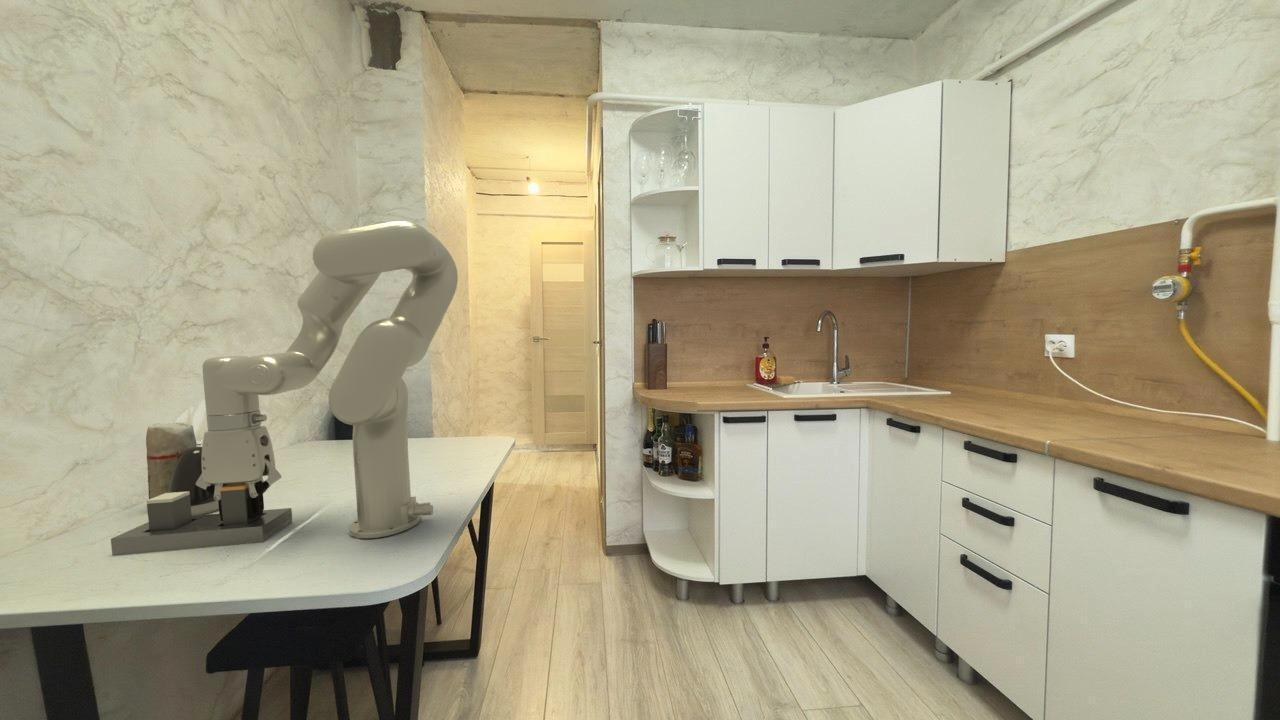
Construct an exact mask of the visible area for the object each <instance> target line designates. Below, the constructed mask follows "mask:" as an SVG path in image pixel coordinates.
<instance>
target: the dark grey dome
mask: <svg viewBox="0 0 1280 720" xmlns="http://www.w3.org/2000/svg"><path fill="white" fill-rule="evenodd" d="M201 462H202V446H197V447H193V448H190V449H188V450H186V451H185V452H183V453H182V454H181V456H180V457H179V459H178V460H177V462H176V464H175V467H174V469H173V472H172V475H171V479H170V483H169V489H168V493H174V492H188V491H189V493H190V503H191V514H192V516H196V515H208V514H212V513H214V512H216V511H219V505H218V500H215V499H214V496H213V495H212V494H210V493H209V492H207V490H206V489H203V488H201V487H199V486H197V485H196V482H197V480H198V479H199V477H200V475H201V474H202V463H201Z"/></svg>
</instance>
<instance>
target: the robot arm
mask: <svg viewBox="0 0 1280 720" xmlns="http://www.w3.org/2000/svg"><path fill="white" fill-rule="evenodd" d="M312 261H313V263H314V266H315V268H316V269H317V270H318V272H317V274H316V275H315V276H314V277H313V279H312V280H311V282H310V283H309V284H308V286H307V287H306V288H305V290H304V291H303V292H302V293H301V295H300V296H299V297H298V299H297V307H298V310H299V311H300V314H301V316H302V325H301V328H300V331H299V332H298V334H297V336H296V338H295V339H294V341H293V342H292V343H291V345H290V346H289V347H288V349H287V350H286V351H284V352H279V353H270V354H260V355H253V356H247V355H246V356H245V355H244V356H242V355H238V356H236V355H235V356H219V357H218V356H217V357H209V358H207V359H206V360H204V361H203V363H202V367H201V368H202V380H203V381H202V382H203V390H204V401H205V403H204V404H205V412H206V413H205V415H206V416H205V417H206V425H207V431H205V432H204V434H203V439H202V443H201V447H202V462H201V463H202V474H201V475H200V477H199V479H198V480H197V482H196V485H197V486H199V487H201V488H203V489H206V490H207V492H209V493H210V494H212V495H213V496H214V499H215V500H218V505H219V510H218V514H220V518H221V521H223V516H222V505H221V494H220V488H221V487H223V486H226V485H228V484H230V483H243V482H246V484H247V487H248V491H249V494H250V498H248V500H247V503H248V515H249V519H254V518H255V517H257V516H259V515H260V514H262V513H263V510H265V504H264V503H265V502H264V494H265V493H266V492H267V490H268V489H269V488H270V487H271V486H272V485H273V484H275V483H276V482H278V481H279V480H281V479H282V474H281V473H280V472H279V471H278V470H277V469H276V459H275V455H274V454H275V453H274V449H273V443H272V440H271V437H270V434H269V431H268V428H267V426H266V425H262V422H266V421H267V420H268V415H266V414H262V413H261V410H260V400H259V399H260V398H259V396H273V395H278V394H282V393H287V392H290V391H295V390H299V389H302V388H305V387H306V386H308V385H310V383H312V382H313V381H314V380H315V379H316V378H317V377H318V375H319V374H320V373H321V371H322V370H323V369H324V368H325V366H327V363H328V362H329V361H330V359H331V358H332V356H333V354H334V353H335V352H336V349H337V347H338V344H339V342H340V338H341V337H342V333H343V329H344V325H345V324H346V323H347V321H348V320H349V318H351V315H352V314H353V313H354V311H355V310H356V308H358V305H360V303H361V301H362V300H363V299H364V297H366V295H367V294H368V292H369V291H370V290H371V288H372V287H373V286H374V284H375V283H376V281H377V280H378V279H379V278H380V275H381V274H383V273H387V272H392V271H397V270H398V271H399V270H406V271H408V272H410V273H411V274H412V278H411V279H412V280H411V282H409V285H408V286H407V287H406V289H405V290H404V291H403V293H402V294H401V296H400V297H399V299H398V300H399V301H398V303H397V305H396V307H394V310H393V312H392V313H391V315H390V316H389V318H383V319H382V318H381V319H378V320H375V321H373V322H371V323H370V324H368V325H367V326H366V327H365V328H364V329H363V330H362V331H361V332H360V333H359V335H358V336H357V338H356V339H355V341H354V343H353V345H352V347H350V348H351V349H350V350H349V353H348V354H347V356H346V358H345V359H344V362H343V364H342V365H341V367H340V368H339V371H338V373H337V375H336V377H335V379H334V380H333V382H332V385H331V386H330V387H331V388H330V390H329V393H328V405H329V409H330V412H331V413H332V414H333V416H334V417H335V418H336V419H337V420H338V421H340V422H342V423H343V424H347V425H350V426H352V457H353V470H354V482H355V485H354V486H355V498H356V500H355V501H356V513H357V514H356V515H357V519H355V520H354V521H352V523H350V525H349V527H348V529H349V530H348V531H349V532H348V533H349V535H350V536H352V537H353V538H357V539H376V538H384V537H388V536H392V535H395V534H396V535H397V534H399V533H402V532H404V531H406V530H409V529H412V528H413V527H416V525H418V523H420V521H421V520H422V519H421V517H422V516H423V517H424V516H432V515H433V514H434V505H433V504H431V502H422V503H421V502H420V503H419V502H417V496H412V492H411V477H410V464H409V463H410V462H409V442H408V441H409V439H408V438H409V437H408V411H409V410H408V409H409V408H408V407H409V392H408V387H407V384H406V382H405V381H404V378H402V377H403V376H404V373H406V371H407V369H408V368H410V367H414V366H415V365H416V364H419V363H420V362H422V360H423V359H424V357H425V356H426V354H427V351H428V349H429V347H430V345H431V342H432V341H433V339H434V337H435V335H436V334H437V332H438V329H439V327H440V326H441V324H442V321H443V319H444V317H445V315H446V314H447V311H448V309H449V307H450V305H451V303H452V301H453V298H455V297H454V296H455V294H456V291H457V287H458V281H459V280H458V279H459V277H458V276H459V275H458V270H457V268H458V267H457V265H456V262H455V260H454V259H453V257H452V254H451V253H450V252H449V250H448V249H447V248H446V246H445V245H444V243H442V242H441V241H440V240H439V239H438V238H437V237H436V236H435V235H433V234H432V233H431V232H430V231H428V230H427V229H426V228H424V227H423V226H422V225H420V224H417V223H415V222H413V221H409V220H393V221H388V222H382V223H376V224H375V223H374V224H370V225H366V226H365V225H364V226H360V227H359V226H358V227H352V228H348V229H341V230H338V231H334V232H330V233H328V234H326V235H324V236H322V238H320V239H319V240H318V241H317V242H316V243H315V245H314V248H313V250H312ZM266 476H267V478H266V479H265V480H264V478H263V477H266Z"/></svg>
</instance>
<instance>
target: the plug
mask: <svg viewBox="0 0 1280 720" xmlns="http://www.w3.org/2000/svg"><path fill="white" fill-rule="evenodd" d="M220 494H221V505H222V516H223V526H229V525H241V524H249V523H251V522H253V521H255V520H256V519H258V518H260V517H261V514H260V515H259V516H257V517H255V518H254V519H249V515H248V503H247V500H248V498H250V494H249V491H248V487H247V484H246V482H243V483H230V484H228V485H226V486H223V487H221V488H220Z"/></svg>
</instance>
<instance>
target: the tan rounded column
mask: <svg viewBox="0 0 1280 720" xmlns="http://www.w3.org/2000/svg"><path fill="white" fill-rule="evenodd" d="M197 444H198V443H197V438H196V435H195V430H194V426H193V425H192V424H190V423H186V422H170V423H169V422H168V423H151V424H149V426H148V427H147V430H146V437H145V446H146V462H147V463H146V465H147V485H148V487H147V488H148V500H149V499H152V498H154V497H157V496H159V495H162V494H165V493H168V489H169V483H170V479H171V475H172V472H173V469H174V467H175V464H176V462H177V460H178V459H179V457H180V456H181V454H182V453H183V452H185V451H186V450H188V449H190V448H193V447H198V446H197Z"/></svg>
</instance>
